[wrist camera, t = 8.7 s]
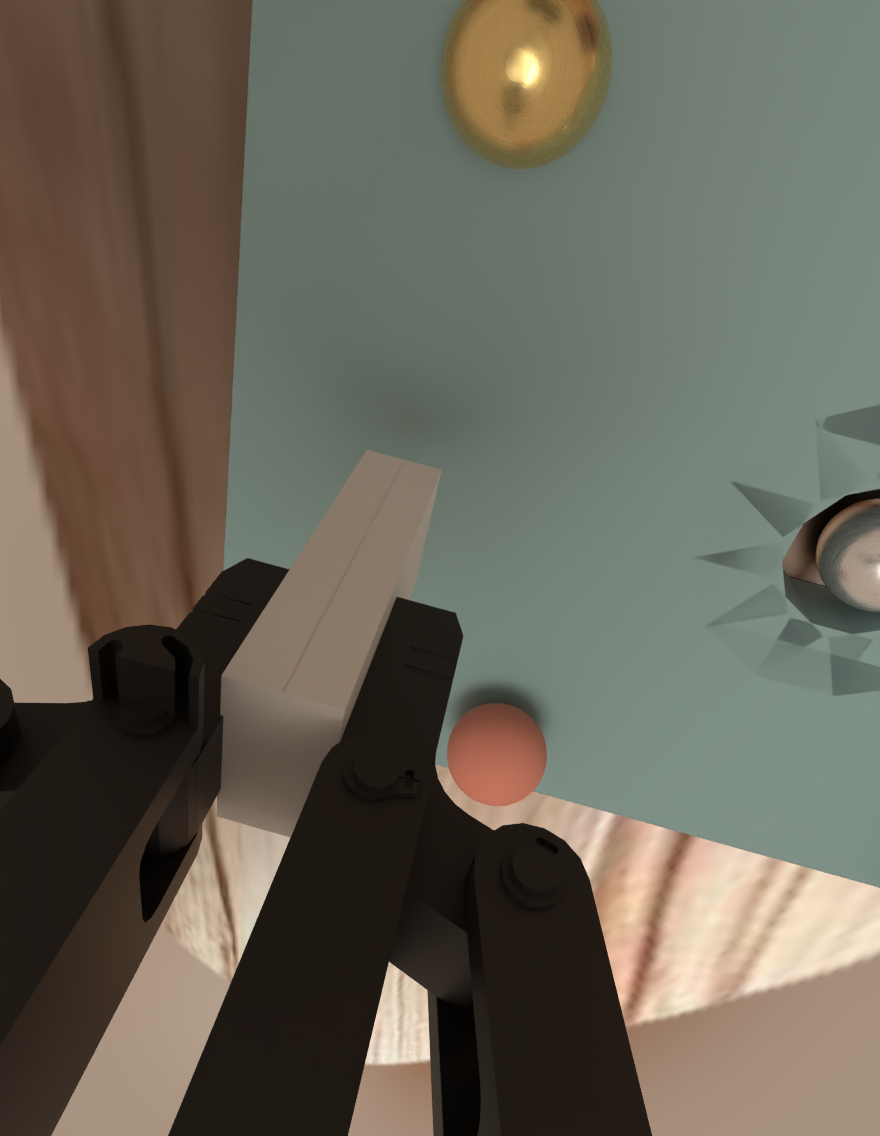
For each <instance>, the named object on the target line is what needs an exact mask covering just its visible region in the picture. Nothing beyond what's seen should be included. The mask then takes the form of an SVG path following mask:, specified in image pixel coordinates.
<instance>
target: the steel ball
mask: <svg viewBox="0 0 880 1136" xmlns="http://www.w3.org/2000/svg"><path fill="white" fill-rule="evenodd" d="M816 564H817V568H818V572H819V575H820V577H821V579H822V581H823V582H824V584H825V585H826V587H827V588H828V589H829V590H830V591H831V592H832V593H833V594H834V595H835V596H836V597H837V598H839V599H840V600H842V601H843V602H845V603H847V604H849V605H851V606H853V607H856V608H858V609H862V610H865V611H871V612H880V498H875V499H869V500H864V501H861V502H857V503H855V504H852V505H850V506H848V507H846V508H845V509H843V510H842V511H840V512H839V513H838V514H836V515H835V516H834V517H833V518H832V519H831V520H830V521H829V522H828V523H827V525H826V526H825V527H824V529H823V531H822V533H821V535H820V537H819V540H818V543H817V548H816Z"/></svg>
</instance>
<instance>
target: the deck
mask: <svg viewBox="0 0 880 1136" xmlns="http://www.w3.org/2000/svg"><path fill="white" fill-rule="evenodd" d="M461 2H462V0H252V19H251V39H250V58H249V78H248V98H247V117H246V137H245V156H244V176H243V196H242V215H241V235H240V254H239V274H238V294H237V313H236V333H235V352H234V372H233V392H232V411H231V431H230V450H229V470H228V490H227V509H226V529H225V548H224V568H223V571H224V570H226V569H228V568H230V567H232V566H233V565H235V564H237V563H239V562H241V561H243V560H244V559H246V558H250V559H253V560H257V561H261V562H264V563H268V564H272V565H275V566H279V567H283V568H286V569H290V568H291V567H292V565H293V564H294V562H295V561H296V559H297V557H298V556H299V554H300V553H301V551H302V550H303V548H304V547H305V545H306V544H307V542H308V540H309V539H310V537H311V536H312V534H313V533H314V531H315V530H316V528H317V526H318V525H319V523H320V522H321V520H322V519H323V517H324V516H325V514H326V513H327V511H328V509H329V508H330V506H331V505H332V503H333V502H334V500H335V499H336V497H337V495H338V494H339V492H340V491H341V489H342V488H343V486H344V485H345V483H346V481H347V480H348V478H349V477H350V475H351V474H352V472H353V471H354V469H355V468H356V466H357V464H358V463H359V461H360V460H361V458H362V457H363V455H364V454H365V452H366V450H370V451H373V452H377V453H381V454H385V455H388V456H392V457H396V458H400V459H403V460H407V461H411V462H415V463H418V464H422V465H426V466H430V467H433V468H437V469H441V475H440V479H439V484H438V488H437V492H436V497H435V501H434V506H433V510H432V514H431V519H430V523H429V527H428V532H427V536H426V541H425V545H424V549H423V554H422V558H421V563H420V567H419V571H418V576H417V580H416V583H415V586H414V589H413V592H412V594H411V597H410V600H411V601H415V602H418V603H422V604H426V605H429V606H433V607H437V608H440V609H444V610H448V611H451V612H455V613H456V615H457V618H458V621H459V624H460V627H461V630H462V633H463V640H462V645H461V649H460V653H459V657H458V661H457V666H456V670H455V674H454V678H453V682H452V687H451V691H450V696H449V700H448V704H447V708H446V713H445V717H444V721H443V725H442V730H441V734H440V738H439V742H438V747H437V751H436V761H435V764H437V765H441V766H444V767H448V768H449V766H448V761H447V746H448V741H449V737H450V735H451V732H452V730H453V728H454V726H455V725H456V723H457V722H458V721H459V720H460V719H461V717H462V716H464V715H465V714H466V713H467V712H468V711H470V710H472V709H474V708H476V707H478V706H480V705H484V704H489V703H503V704H508V705H511V706H514V707H516V708H519V709H520V710H522V711H524V712H525V713H526V714H528V715H529V716H530V717H531V718H532V719H533V720H534V721H535V722H536V724H537V725H538V727H539V728H540V730H541V732H542V734H543V737H544V739H545V744H546V748H547V761H546V768H545V771H544V774H543V777H542V779H541V781H540V782H539V784H538V786H537V787H536V788H535V789H534V790H533V791H534V792H538V793H541V794H545V795H548V796H552V797H556V798H559V799H563V800H566V801H570V802H574V803H577V804H581V805H584V806H588V807H592V808H595V809H599V810H602V811H606V812H610V813H613V814H617V815H620V816H624V817H628V818H631V819H635V820H638V821H642V822H646V823H649V824H653V825H656V826H660V827H664V828H667V829H671V830H674V831H678V832H682V833H685V834H689V835H692V836H696V837H700V838H703V839H707V840H710V841H714V842H718V843H721V844H725V845H728V846H732V847H736V848H739V849H743V850H746V851H750V852H754V853H757V854H761V855H764V856H768V857H771V858H775V859H779V860H782V861H786V862H789V863H793V864H797V865H800V866H804V867H807V868H811V869H815V870H818V871H822V872H825V873H829V874H833V875H836V876H840V877H843V878H847V879H851V880H854V881H858V882H861V883H865V884H869V885H872V886H876V887H879V888H880V612H871V611H865V610H862V609H858V608H856V607H853V606H851V605H849V604H847V603H845V602H843V601H842V600H840V599H839V598H837V597H836V596H835V595H834V594H833V593H832V592H831V591H830V590H829V589H828V588H827V587H825V586H821V585H817V584H814V583H810V582H806V581H802V580H799V579H795V578H791V577H789V576H788V575H787V574H786V573H785V572H784V571H783V565H782V560H783V558H784V557H785V555H786V553H787V551H788V550H789V548H790V546H791V544H792V543H793V541H794V539H795V537H796V536H797V534H798V532H799V531H800V529H801V527H802V525H803V524H804V523H805V522H807V521H808V520H810V519H811V518H813V517H814V516H816V515H817V514H819V513H820V512H822V511H823V510H825V509H826V508H828V507H829V506H831V505H832V504H834V503H835V502H837V501H838V500H840V499H841V498H843V497H844V496H846V495H850V494H855V493H860V492H865V491H871V490H876V489H880V0H598V2H599V4H600V5H601V7H602V9H603V12H604V14H605V17H606V20H607V23H608V27H609V31H610V36H611V42H612V73H611V81H610V85H609V89H608V94H607V96H606V99H605V102H604V105H603V107H602V110H601V112H600V114H599V116H598V118H597V120H596V121H595V123H594V125H593V126H592V128H591V129H590V131H589V132H588V133H587V135H586V136H585V137H584V138H583V140H582V141H581V142H580V143H579V144H578V145H577V146H576V147H575V148H573V149H572V150H571V151H570V152H568V153H567V154H566V155H564V156H563V157H561V158H559V159H558V160H556V161H554V162H552V163H549V164H547V165H545V166H541V167H537V168H533V169H525V170H521V169H509V168H503V167H500V166H497V165H495V164H492V163H490V162H488V161H486V160H484V159H483V158H481V157H480V156H478V155H477V154H476V153H474V152H473V151H472V150H471V149H470V148H469V147H468V146H467V145H466V144H465V143H464V141H463V140H462V139H461V138H460V136H459V135H458V133H457V132H456V130H455V128H454V127H453V125H452V123H451V121H450V118H449V116H448V114H447V111H446V107H445V104H444V100H443V95H442V91H441V80H440V63H441V55H442V48H443V44H444V40H445V36H446V33H447V30H448V27H449V24H450V22H451V20H452V18H453V16H454V13H455V11H456V10H457V8H458V7H459V5H460V3H461Z"/></svg>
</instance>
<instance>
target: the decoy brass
mask: <svg viewBox="0 0 880 1136" xmlns="http://www.w3.org/2000/svg"><path fill="white" fill-rule="evenodd" d="M611 73H612V42H611V36H610V31H609V27H608V23H607V20H606V17H605V14H604V12H603V9H602V7H601V5H600V4H599V2H598V0H462V2H461V3H460V5H459V7H458V8H457V10H456V11H455V13H454V16H453V18H452V20H451V22H450V24H449V27H448V30H447V33H446V36H445V40H444V44H443V48H442V55H441V63H440V80H441V91H442V95H443V100H444V104H445V107H446V111H447V114H448V116H449V118H450V121H451V123H452V125H453V127H454V128H455V130H456V132H457V133H458V135H459V136H460V138H461V139H462V140H463V141H464V143H465V144H466V145H467V146H468V147H469V148H470V149H471V150H472V151H473V152H474V153H476V154H477V155H478V156H480V157H481V158H483V159H484V160H486V161H488V162H490V163H492V164H495V165H497V166H500V167H503V168H509V169H521V170H525V169H533V168H537V167H541V166H545V165H547V164H549V163H552V162H554V161H556V160H558V159H559V158H561V157H563V156H564V155H566V154H567V153H568V152H570V151H571V150H572V149H573V148H575V147H576V146H577V145H578V144H579V143H580V142H581V141H582V140H583V138H584V137H585V136H586V135H587V133H588V132H589V131H590V129H591V128H592V126H593V125H594V123H595V121H596V120H597V118H598V116H599V114H600V112H601V110H602V107H603V105H604V102H605V99H606V96H607V94H608V89H609V85H610V81H611Z"/></svg>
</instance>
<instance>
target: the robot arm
mask: <svg viewBox="0 0 880 1136" xmlns="http://www.w3.org/2000/svg"><path fill="white" fill-rule="evenodd" d="M440 475H441V469H437V468H433V467H430V466H426V465H422V464H418V463H415V462H411V461H407V460H403V459H400V458H396V457H392V456H388V455H385V454H381V453H377V452H373V451H370V450H366V452H365V454H364V455H363V457H362V458H361V460H360V461H359V463H358V464H357V466H356V468H355V469H354V471H353V472H352V474H351V475H350V477H349V478H348V480H347V481H346V483H345V485H344V486H343V488H342V489H341V491H340V492H339V494H338V495H337V497H336V499H335V500H334V502H333V503H332V505H331V506H330V508H329V509H328V511H327V513H326V514H325V516H324V517H323V519H322V520H321V522H320V523H319V525H318V526H317V528H316V530H315V531H314V533H313V534H312V536H311V537H310V539H309V540H308V542H307V544H306V545H305V547H304V548H303V550H302V551H301V553H300V554H299V556H298V557H297V559H296V561H295V562H294V564H293V565H292V567H291V568H290V569H286V568H283V567H279V566H275V565H272V564H268V563H264V562H261V561H257V560H253V559H250V558H246V559H244V560H243V561H241V562H239V563H237V564H235V565H233V566H232V567H230V568H228V569H226V570H224V571H222V572H221V573H220V575H219V576H218V577H217V578H216V580H215V581H214V582H213V584H212V585H211V586H210V587H209V589H208V590H207V591H206V594H205V596H202V597H201V599H200V600H199V601H198V603H197V604H196V605H195V606H194V608H193V611H192V613H191V612H190V613H189V614H188V615H187V617H186V618H185V619H184V620H183V622H182V623H181V624H180V625H179V627H178V628H177V629H173V628H171V627H163V626H156V625H142V626H133V627H125V628H123V629H120V630H117V631H115V632H112V633H109V634H106V635H104V636H103V637H101V638H100V639H99V640H97V641H96V642H95V643H93V644H92V645H91V646H90V647H88V654H89V663H90V671H91V680H92V689H93V700H91V701H87V702H81V703H79V702H78V703H14V701H13V696H12V691H11V689H10V688H9V687H8V686H7V685H6V684H5V683H4V682H3V681H2V680H1V679H0V1136H51V1135H52V1133H53V1131H54V1129H55V1127H56V1125H57V1123H58V1121H59V1119H60V1117H61V1115H62V1114H63V1112H64V1110H65V1108H66V1106H67V1104H68V1102H69V1100H70V1098H71V1096H72V1094H73V1092H74V1090H75V1089H76V1086H77V1085H78V1082H79V1081H80V1079H81V1077H82V1075H83V1073H84V1071H85V1069H86V1067H87V1065H88V1063H89V1062H90V1060H91V1058H92V1056H93V1054H94V1052H95V1050H96V1048H97V1046H98V1044H99V1042H100V1040H101V1038H102V1037H103V1035H104V1033H105V1031H106V1029H107V1027H108V1025H109V1023H110V1021H111V1019H112V1017H113V1015H114V1013H115V1011H116V1010H117V1008H118V1006H119V1004H120V1002H121V1000H122V998H123V996H124V994H125V992H126V990H127V988H128V986H129V985H130V983H131V981H132V979H133V977H134V975H135V973H136V971H137V969H138V967H139V965H140V963H141V962H142V959H143V958H144V956H145V954H146V952H147V950H148V948H149V946H150V944H151V942H152V940H153V938H154V936H155V935H156V933H157V931H158V929H159V927H160V925H161V923H162V921H163V919H164V917H165V915H166V913H167V911H168V910H169V908H170V906H171V904H172V902H173V900H174V898H175V896H176V894H177V892H178V890H179V888H180V886H181V884H182V883H183V881H184V879H185V877H186V875H187V873H188V871H189V869H190V867H191V865H192V863H193V861H194V859H195V858H196V856H197V854H198V850H199V847H200V843H201V839H202V822H203V821H204V819H205V817H206V815H207V813H208V811H209V809H210V808H211V806H212V804H213V802H214V800H215V798H216V796H217V816H218V817H221V818H225V819H228V820H232V821H235V822H239V823H242V824H246V825H249V826H253V827H256V828H260V829H263V830H267V831H270V832H274V833H277V834H281V835H284V836H288V837H291V838H290V840H289V843H288V845H287V848H286V850H285V852H284V855H283V857H282V860H281V862H280V865H279V867H278V870H277V872H276V874H275V877H274V879H273V882H272V884H271V887H270V889H269V891H268V894H267V896H266V899H265V901H264V904H263V906H262V909H261V911H260V913H259V916H258V918H257V921H256V923H255V926H254V928H253V930H252V933H251V935H250V938H249V940H248V943H247V945H246V947H245V950H244V952H243V955H242V957H241V960H240V962H239V965H238V967H237V969H236V972H235V974H234V977H233V979H232V982H231V984H230V986H229V989H228V992H227V994H226V996H225V999H224V1001H223V1004H222V1006H221V1008H220V1011H219V1013H218V1016H217V1018H216V1021H215V1023H214V1026H213V1028H212V1030H211V1033H210V1036H209V1038H208V1040H207V1043H206V1045H205V1047H204V1050H203V1052H202V1055H201V1057H200V1060H199V1062H198V1064H197V1067H196V1069H195V1072H194V1074H193V1077H192V1079H191V1082H190V1084H189V1086H188V1089H187V1091H186V1094H185V1096H184V1099H183V1101H182V1103H181V1106H180V1109H179V1111H178V1113H177V1116H176V1118H175V1120H174V1123H173V1125H172V1128H171V1130H170V1133H169V1135H168V1136H348V1132H349V1128H350V1124H351V1120H352V1116H353V1111H354V1107H355V1103H356V1099H357V1094H358V1090H359V1086H360V1082H361V1077H362V1073H363V1069H364V1065H365V1060H366V1056H367V1052H368V1048H369V1043H370V1039H371V1035H372V1031H373V1026H374V1022H375V1018H376V1014H377V1010H378V1005H379V1001H380V997H381V993H382V988H383V984H384V980H385V976H386V971H387V967H388V963H389V962H390V963H392V964H393V965H394V966H396V967H397V968H398V969H400V970H401V971H403V972H404V973H405V974H407V975H408V976H409V977H411V978H412V979H414V980H415V981H416V982H418V983H419V984H420V985H422V986H423V987H424V988H426V989H427V990H428V1012H429V1036H430V1060H431V1084H432V1107H433V1108H432V1109H433V1131H434V1132H433V1133H434V1136H652V1133H651V1129H650V1125H649V1121H648V1117H647V1113H646V1109H645V1105H644V1101H643V1097H642V1092H641V1088H640V1084H639V1080H638V1076H637V1072H636V1068H635V1064H634V1060H633V1056H632V1052H631V1048H630V1043H629V1039H628V1036H627V1031H626V1027H625V1023H624V1019H623V1015H622V1011H621V1006H620V1002H619V998H618V994H617V990H616V986H615V982H614V978H613V974H612V970H611V966H610V961H609V957H608V953H607V949H606V945H605V941H604V937H603V933H602V929H601V925H600V920H599V916H598V912H597V908H596V904H595V900H594V896H593V892H592V888H591V884H590V880H589V877H588V875H587V873H586V870H585V868H584V866H583V864H582V861H581V859H580V858H579V856H578V855H577V854H576V853H575V852H574V851H573V850H572V849H571V847H570V846H569V845H568V844H567V843H566V842H565V841H564V840H563V839H561V838H559V837H558V836H556V835H554V834H553V833H551V832H550V831H548V830H546V829H545V828H541V827H537V826H533V825H528V824H524V823H520V824H512V825H503V826H501V827H500V828H498V829H496V830H492V829H491V828H489V827H487V826H486V825H484V824H483V823H481V822H479V821H478V820H476V819H475V818H473V817H471V816H470V815H468V814H467V813H466V812H464V811H463V810H462V809H461V808H459V807H458V806H457V805H455V803H454V802H453V801H452V800H451V799H450V797H449V796H448V795H447V794H446V793H445V791H444V789H443V787H442V785H441V783H440V781H439V780H438V776H437V771H436V767H435V761H436V751H437V747H438V742H439V738H440V734H441V730H442V725H443V721H444V717H445V713H446V708H447V704H448V700H449V696H450V691H451V687H452V682H453V678H454V674H455V670H456V666H457V661H458V657H459V653H460V649H461V645H462V640H463V633H462V630H461V627H460V624H459V621H458V618H457V615H456V613H455V612H451V611H448V610H444V609H440V608H437V607H433V606H429V605H426V604H422V603H418V602H415V601H411V600H410V597H411V594H412V592H413V589H414V586H415V583H416V580H417V576H418V571H419V567H420V563H421V558H422V554H423V549H424V545H425V541H426V536H427V532H428V527H429V523H430V519H431V514H432V510H433V506H434V501H435V497H436V492H437V488H438V484H439V479H440Z"/></svg>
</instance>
